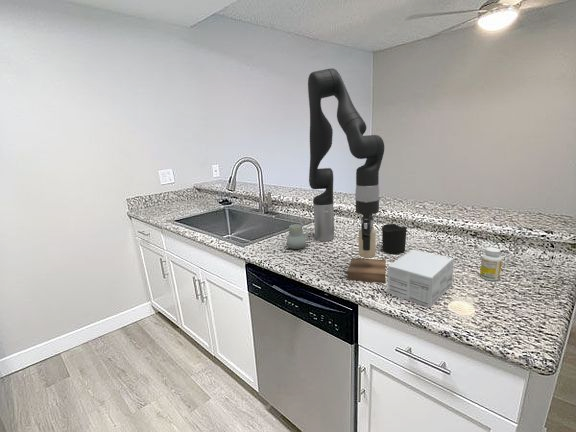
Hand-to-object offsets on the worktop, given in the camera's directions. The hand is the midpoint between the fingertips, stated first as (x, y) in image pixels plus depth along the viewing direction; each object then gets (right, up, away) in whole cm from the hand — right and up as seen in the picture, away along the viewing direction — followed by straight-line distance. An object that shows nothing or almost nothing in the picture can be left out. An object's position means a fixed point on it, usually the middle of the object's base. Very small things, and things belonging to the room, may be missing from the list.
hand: (367, 246), depth 104 cm
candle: (0, -3, +1) cm, 3 cm away
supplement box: (+14, -12, -10) cm, 21 cm away
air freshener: (-23, -4, +33) cm, 40 cm away
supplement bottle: (+38, -9, -6) cm, 40 cm away
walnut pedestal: (+1, -10, +2) cm, 10 cm away
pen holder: (+17, -4, +22) cm, 28 cm away
